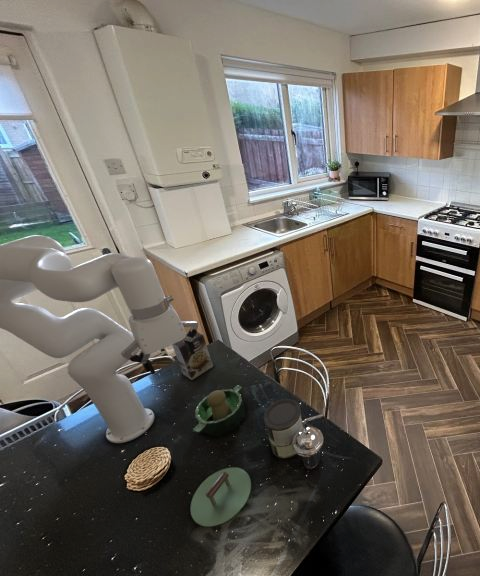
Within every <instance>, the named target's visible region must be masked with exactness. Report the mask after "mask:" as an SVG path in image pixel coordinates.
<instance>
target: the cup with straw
mask: <svg viewBox="0 0 480 576" xmlns="http://www.w3.org/2000/svg"><path fill="white" fill-rule="evenodd" d="M324 417H325V414H324V413H321V414H317V415H314V416H310V417H307V418H305V419H303V420H302V424H303V428H302V429H301V430H300V431H299V432H298V433H297V434H296V435H295V437H294V439H293V444H292V446H293V449H294V451H295V452H296V453H297V454H296V455H299V458H300V460H301V463H302V464H303V466H304V467H305V468H306V469H313V468H315V467H317V466H318V464H319V462H320V454H321V448H322V446H323V444H324V435H323V433H322V431H321V430H320V429H319V428H317V427H315V426H311V425H308V426H307V422H309V421H313V420H317V419H320V418H324Z"/></svg>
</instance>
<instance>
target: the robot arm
mask: <svg viewBox="0 0 480 576" xmlns="http://www.w3.org/2000/svg"><path fill="white" fill-rule="evenodd" d="M116 288H118V289H119V291H120V294H121V296H122V298H123V300H124V302H125V304H126V306H127V309H128V311H129V313H130V316H129V317H128V323H129V324H128V325H129V327H130V328H129V329H130V330H128V329H127V328H126V327H124V326H123V325H121V324H120V323H118V322H117V321H116V320H114V319H112V318H111V317H109V316H108V315H107V314H106V313H103V312H102V311H100V310H97V309H94V308H90V307H83V308H79V309H76V310H74V311H72V312H70V313H68V314H67V315H64V316H57V315H55V314H53V313H52V312H50V311H49V310H47V309H46V308H44V307H42V306H38V305H34V304H28V303H19V302H13V301H15V300H16V299H19V298H21V297H24V296H26V295H29V294H31V293H34V292H35V291H37V290H38V291H39V292H40V293H42V294H43V295H44V296H46V297H48V298H50V299H52V300H54V301H60V302H67V303H68V302H69V303H86V302H91V301H93V300H96V299H98V298H99V297H102V296H103V295H105V294H107V293H108V292H110V291H112V290H115V289H116ZM172 301H174V297H173V296H172V295H169V296H168V295H165V293H164V290H163V288H162V285H161V281H160V280H159V277H158V274H157V272H156V269H155V267H154V264H153V263H152V261H151V260H150V259H148V258H147V257H143V256H135V257H132V256H129V255H126V254H123V253H118V252H109V253H106V254H103V255H101V256H98V257H96V258H93V259H91V260H88V261H86V262H83V263H81V264H79V265H76V266H74V267H73V263H72V260H71V258H70V257H69V256H68V254H66V251H65V249H64V247H63V245H62V244H61V243H60V242H58V241H57V240H55V239H54V238H52V237H50V236H46V235H41V234H34V235H29V236H25V237H22V238H19V239H15V240H12V241H9V242H5V243H2V244H0V329H2V330H4V331H7V332H8V333H10V334H12V335H14V336H15V337H17V338H18V339H20V340H22V342H25V343H27V344H28V345H30V346H31V347H33V348H34V349H36V350H37V351H39V352H41V353H43V354H44V355H46V356H49V357H51V358H54V359H64V358H66V357H69V356H70V355H72V354H74V353H76V352H77V351H78V350H80V349H82V348H84V347H85V346H86V345H88V344H89V343H91V342H92V341H94V340H98V341H97V342H95V343H93V344H91V345H90V346H89V347H87V348H86V349H84V350H82V351H81V352H79V353H78V354H76V356H74V357H73V358H72V359H71V360H70V362H69V363H68V364H67V367H66V371H67V372H66V373H67V374H68V376H69V377H70V378H71V379H72V380H73V381H74V382H75V383H76V384H78V385H79V386H80V387H81V389H83V391H84V392H85V393H86V395H87V397H88V398H89V399H90V400H91V402H92V404H93V405H94V407H95V408H96V410H97V412H98V413H99V415H100V416H101V418H102V419H103V421H104V423H105V424H106V426H107V429H106V431H105V437H106V439H107V441H108V442H110V443H112V444H123V443H127V442H131V441H132V440H135V439H137V438H138V437H140V436H142V435H143V434H144V433H146V432H147V431H148V429H150V428H151V426H152V425H153V423H154V421H155V413H154V412H153V410H152V409H151V408H148V407H144V405H143V403H142V401H141V399H140V398H139V395H138V394H137V391H136V390H135V388H134V386H133V384H132V382H131V381H130V379H129V378H128V377H127V376H126V375H124V374H120V373H117V371H118V370H119V369H120V368H122V367H123V366H124V365H125V364H126V363H128V362H129V361H131V363H132V362H133V363H138V364H139V363H140V364H142V366H143V368H144V370H145V372H146V373H148V372H149V373H150V374H151V375H155V374H156V371H155V368H154V367H153V364H152V362H151V361H150V359H149V358H150V357H151V355H152V354H154V353H157V352H158V351H161V350H164V349H166V348H168V347H170V346H172V344H175V343H177V342H179V341H181V340H184V342H185V345H186V348H187V350H188V351H189V352H190V353H191V354H195V352H194V349H195V346H194V343H193V340H194V339H193V338H194V337H195V335H196V333H197V332H198V329H199V328H198V327H199V322H197V320H189V321H188V320H184V321H183V320H181V318H180V316H179V314H178V313H177V311H176V309H175V307H173V305H172V304H171V302H172ZM186 328H190V329H189V330H188V332H187V330H186Z"/></svg>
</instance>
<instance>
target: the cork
mask: <svg viewBox="0 0 480 576" xmlns="http://www.w3.org/2000/svg"><path fill="white" fill-rule="evenodd" d="M221 390H222V389H220V390H219V389H217V390H214V391H212V392H210V393H209V394H208V395H209V396H208V395H207V396H208V398H207V401H208V404H209V405H210V406H211V409H212V415H211V416H212V421H216V420H219V419H222V418H225V417H226V416H228V415H229V414H231V413H232V411H231V409H230V407H229V406H228V404H227V402H226V400H225V398H226V396H225V393H224V392H223V391H221Z"/></svg>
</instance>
